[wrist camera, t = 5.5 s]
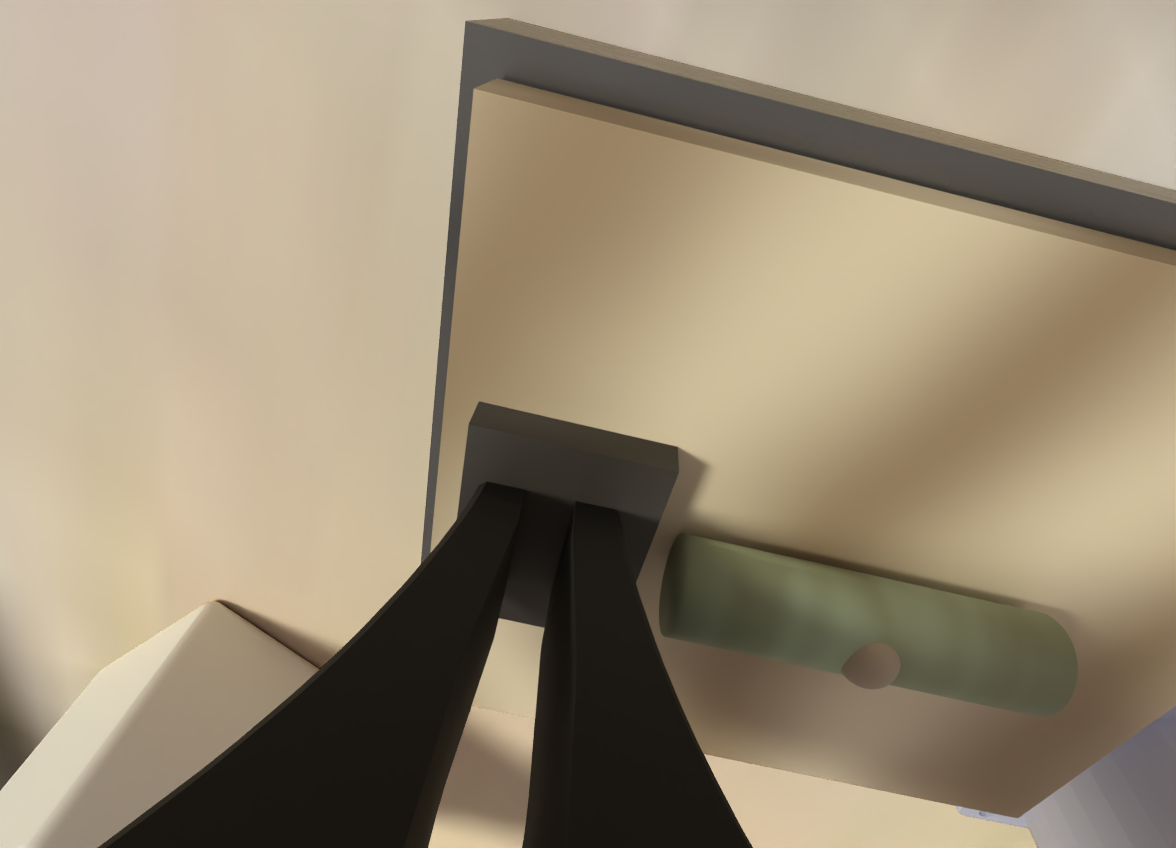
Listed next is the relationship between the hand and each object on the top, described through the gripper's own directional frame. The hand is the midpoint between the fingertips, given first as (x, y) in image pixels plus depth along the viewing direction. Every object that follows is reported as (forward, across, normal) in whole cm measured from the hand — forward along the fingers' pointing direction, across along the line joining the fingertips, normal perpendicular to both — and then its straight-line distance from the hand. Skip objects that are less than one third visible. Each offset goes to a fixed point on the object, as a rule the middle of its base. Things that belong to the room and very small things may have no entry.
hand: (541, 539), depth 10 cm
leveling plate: (+2, -5, 0) cm, 5 cm away
